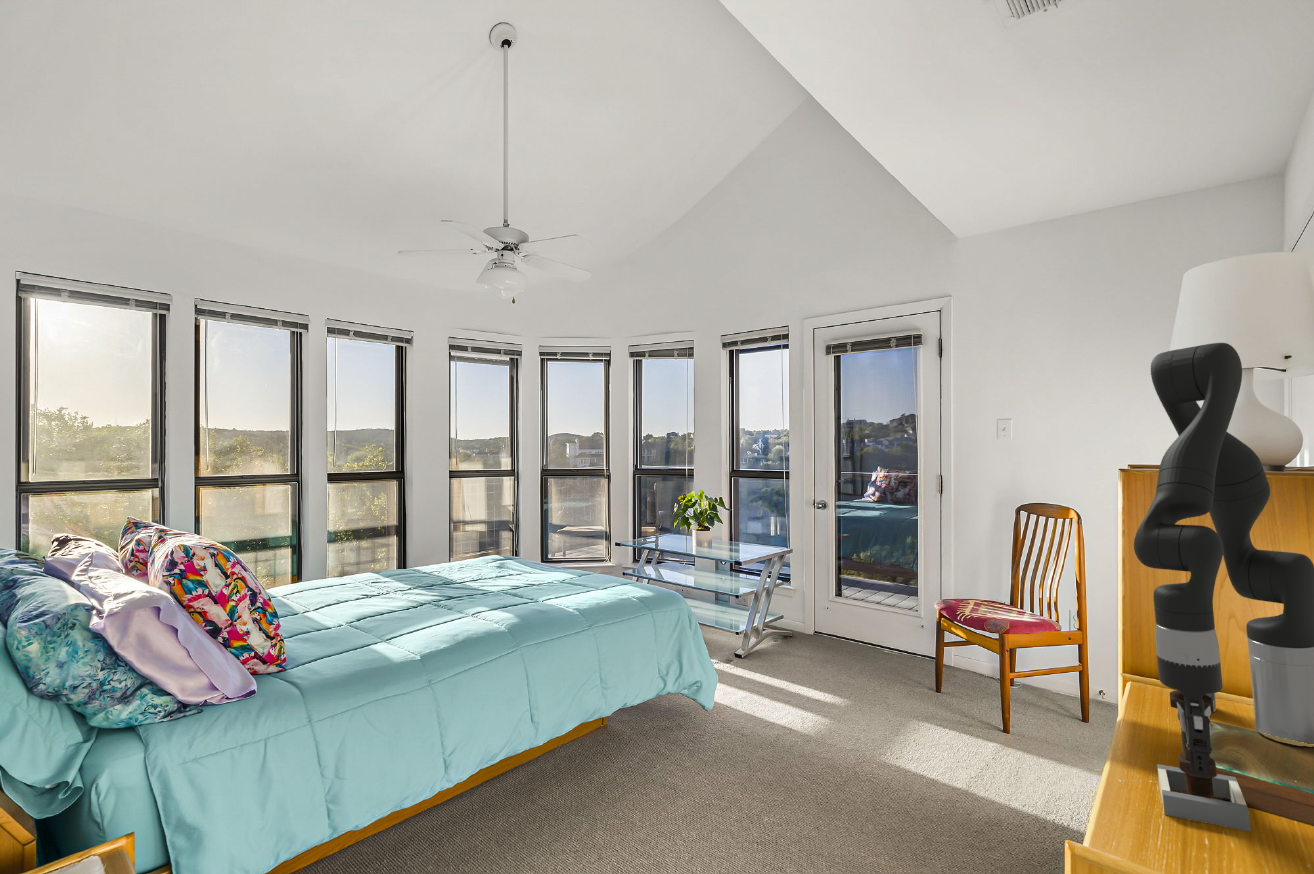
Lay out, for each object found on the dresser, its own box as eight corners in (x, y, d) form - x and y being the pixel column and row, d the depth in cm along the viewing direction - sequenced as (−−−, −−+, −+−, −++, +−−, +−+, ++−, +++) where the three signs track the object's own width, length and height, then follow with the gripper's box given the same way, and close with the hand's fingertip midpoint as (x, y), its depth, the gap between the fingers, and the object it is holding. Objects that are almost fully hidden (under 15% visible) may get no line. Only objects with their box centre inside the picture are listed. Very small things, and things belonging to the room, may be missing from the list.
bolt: (1223, 808, 94) (1213, 706, 94) (1179, 799, 97) (1170, 700, 97) (1220, 789, 99) (1210, 691, 99) (1178, 781, 102) (1168, 686, 102)
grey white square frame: (1158, 782, 104) (1157, 763, 104) (1237, 796, 99) (1235, 776, 99) (1164, 814, 96) (1162, 794, 96) (1250, 831, 91) (1248, 810, 91)
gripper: (1228, 674, 90) (1240, 795, 90) (1212, 643, 102) (1222, 750, 102) (1160, 667, 94) (1171, 783, 94) (1152, 638, 106) (1162, 741, 106)
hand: (1197, 766), depth 98 cm, fingers closed on bolt, 4 cm apart
